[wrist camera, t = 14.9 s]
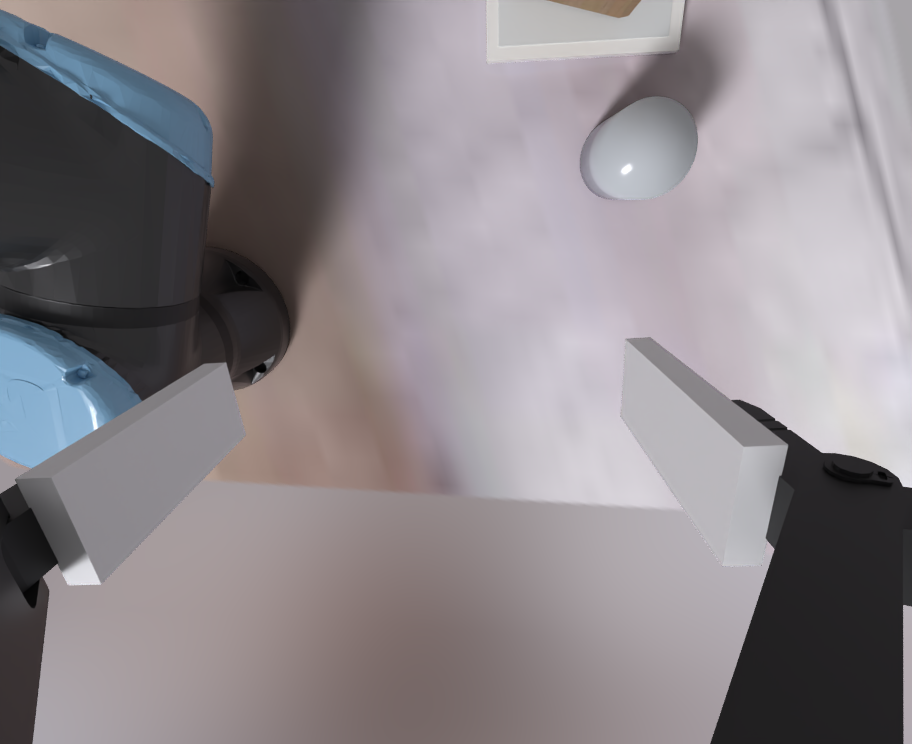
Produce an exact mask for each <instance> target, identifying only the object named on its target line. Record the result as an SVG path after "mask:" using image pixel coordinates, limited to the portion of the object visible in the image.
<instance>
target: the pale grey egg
mask: <svg viewBox="0 0 912 744" xmlns="http://www.w3.org/2000/svg"><path fill="white" fill-rule="evenodd" d="M697 144H698V135H697V129H696V125H695V122H694V120H693V118H692V116H691V114H690V113H689V111H688V110H687V109H686V108H685V107H684V106H683V105H682V104H680V103H679V102H677V101H675V100H673V99H671V98H668V97H662V96H653V97H647V98H643V99H641V100H638V101H636V102H634V103H632V104H631V105H629V106H627V107H626V108H624V109H623V110H621V111H620V112H618V113H616V114H615V115H613V116H612V117H610V118H609V119H607V120H605V121H604V122H602V123H601V124H599V125H598V126H597V127H596V128H595V129H594V130H593V131H592V132H591V133H590V135H589V136H588V138H587V139H586V141H585V143H584V145H583V148H582V151H581V155H580V171H581V175H582V178H583V180H584V182H585V184H586V186H587V187H588V188H589V189H590V190H591V191H592V192H593V193H594V194H596V195H597V196H599V197H601V198H604V199H609V200H645V199H652V198H656V197H659V196H661V195H664V194H665V193H667V192H669V191H670V190H672V189H673V188H675V187H676V186H677V185H678V184H679V183H680V182H681V181H682V180H683V179H684V177H685V176H686V175H687V173H688V171H689V170H690V168H691V166H692V164H693V162H694V159H695V156H696V151H697Z"/></svg>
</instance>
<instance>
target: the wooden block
mask: <svg viewBox="0 0 912 744" xmlns="http://www.w3.org/2000/svg"><path fill="white" fill-rule="evenodd" d="M548 1H552V2H556V3H560V4H564V5H568V6H572V7H576V8H580V9H584V10H588V11H592V12H596V13H600V14H604V15H608V16H612V17H616V18H622V17H626V16H629V15H630V14H631V12H632V11H633V10H634V9H635V7H636V6H637V5H638V4H639V2H640V1H641V0H548Z"/></svg>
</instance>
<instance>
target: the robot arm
mask: <svg viewBox="0 0 912 744" xmlns="http://www.w3.org/2000/svg"><path fill="white" fill-rule="evenodd" d="M212 143H213V133H212V128H211V125H210V122H209V120H208V118H207V117H206V115H205V114H204V113H203V111H202V110H201V109H200V108H199V107H198V106H197V105H196V104H195V103H193V102H192V101H191V100H189V99H188V98H186V97H185V96H183V95H181V94H180V93H178V92H176V91H174V90H173V89H171V88H169V87H167V86H165V85H163V84H161V83H159V82H157V81H156V80H154V79H152V78H150V77H148V76H146V75H144V74H142V73H140V72H138V71H136V70H134V69H132V68H130V67H128V66H126V65H124V64H122V63H119V62H117V61H115V60H113V59H111V58H109V57H107V56H105V55H103V54H100V53H98V52H96V51H94V50H92V49H90V48H88V47H85V46H83V45H81V44H79V43H77V42H74V41H72V40H70V39H67V38H65V37H63V36H61V35H58V34H54V33H50V32H48V31H47V30H45V29H44V28H41V27H39V26H36V25H34V24H31V23H29V22H27V21H25V20H23V19H21V18H19V17H17V16H15V15H13V14H10V13H8V12H6V11H3V10H1V9H0V455H2V456H4V457H6V458H8V459H10V460H12V461H14V462H16V463H19V464H21V465H24V466H27V467H30V468H32V469H30V470H29V471H27V472H25V473H24V474H22V475H20V476H19V477H17V478H16V479H15V481H16V483H17V484H15V485H14V486H12V487H11V488H9V489H7V490H6V491H4V492H3V493H1V494H0V744H32V742H33V733H34V724H35V716H36V706H37V697H38V688H39V679H40V671H41V662H42V653H43V644H44V635H45V626H46V617H47V608H48V599H49V589H48V586H47V584H46V582H45V580H44V579H43V576H44V575H45V574H46V573H47V572H48V571H49V570H51V569H52V568H53V567H54V566H55V565H56V564H58V566H59V568H60V570H61V572H62V574H63V576H64V578H65V580H66V582H67V584H68V585H95V584H96V585H97V584H102V583H103V582H104V581H105V580H106V579H107V578H108V577H109V576H110V575H111V574H112V573H113V572H114V571H115V570H116V569H117V568H118V567H119V566H120V564H122V563H123V562H124V560H125V559H126V558H127V557H128V556H129V555H130V554H131V553H132V552H133V551H134V550H135V549H136V548H137V547H138V546H139V545H140V544H141V543H142V542H143V541H144V540H145V539H146V538H147V537H148V536H149V535H150V534H151V533H152V531H153V530H154V529H155V528H156V527H157V526H158V525H159V524H160V523H161V522H162V521H163V520H164V519H165V518H166V517H167V516H168V515H169V514H170V513H171V512H172V511H173V510H174V509H175V508H176V507H177V506H178V505H179V504H180V503H181V501H183V499H184V498H185V497H186V496H187V495H188V494H189V493H190V492H191V491H192V490H193V489H194V488H195V487H196V486H197V485H198V484H199V483H200V482H201V481H202V480H203V479H204V478H205V477H206V476H207V475H208V474H209V473H210V472H211V471H212V470H213V468H214V467H215V466H216V465H217V464H218V463H219V462H220V461H221V460H222V459H223V458H224V457H225V456H226V455H227V454H228V453H229V452H230V451H231V450H232V449H233V448H234V447H235V446H236V445H237V444H238V443H239V442H240V441H241V440H242V439H243V437H244V436H245V435H246V433H245V430H244V426H243V422H242V419H241V415H240V411H239V408H238V404H237V400H236V397H235V393H234V390H238V389H242V388H245V387H248V386H250V385H252V384H254V383H256V382H258V381H259V380H261V379H262V378H264V377H265V376H266V375H267V374H268V373H270V372H271V371H272V370H273V369H274V368H275V367H276V366H277V365H278V364H279V362H280V361H281V359H282V358H283V356H284V354H285V352H286V349H287V346H288V342H289V335H290V323H289V316H288V312H287V308H286V305H285V303H284V300H283V298H282V296H281V294H280V292H279V291H278V289H277V287H276V286H275V284H274V283H273V282H272V281H271V279H270V278H269V277H268V276H267V275H266V274H265V273H264V272H263V271H262V270H261V269H260V268H259V267H258V266H256V265H255V264H254V263H252V262H251V261H249V260H248V259H246V258H244V257H242V256H240V255H238V254H236V253H234V252H231V251H228V250H224V249H220V248H213V247H205V246H206V236H207V225H208V215H209V205H210V194H211V187H214V179H213V177H212V176H211V169H212ZM620 417H621V418H622V420H623V421H624V423H625V424H626V426H627V427H628V429H629V430H630V432H631V433H632V434H633V436H634V437H635V439H636V440H637V442H638V443H639V445H640V446H641V448H642V449H643V451H644V452H645V454H646V455H647V457H648V458H649V460H650V461H651V462H652V464H653V465H654V467H655V468H656V470H657V471H658V473H659V474H660V476H661V477H662V479H663V480H664V482H665V483H666V485H667V486H668V488H669V489H670V490H671V492H672V493H673V495H674V496H675V498H676V499H677V501H678V502H679V504H680V505H681V507H682V508H683V510H684V511H685V513H686V514H687V515H688V517H689V518H690V520H691V521H692V523H693V524H694V526H695V527H696V529H697V530H698V532H699V533H700V535H701V536H702V538H703V539H704V541H705V542H706V544H707V545H708V547H709V548H710V549H711V551H712V552H713V554H714V555H715V557H716V558H717V560H718V561H719V563H720V564H721V566H722V567H730V566H762V563H763V558H764V554H765V549H766V544H767V541H768V542H769V543H770V544H771V545H772V546H773V548H774V549H775V550H774V553H773V556H772V559H771V562H770V565H769V568H768V571H767V574H766V577H765V580H764V583H763V586H762V590H761V592H760V595H759V599H758V601H757V605H756V608H755V611H754V614H753V617H752V620H751V623H750V626H749V629H748V632H747V635H746V638H745V641H744V644H743V647H742V650H741V653H740V656H739V659H738V662H737V665H736V668H735V671H734V674H733V677H732V680H731V683H730V686H729V690H728V692H727V695H726V698H725V702H724V704H723V707H722V710H721V713H720V716H719V719H718V722H717V726H716V728H715V731H714V734H713V737H712V741H711V743H710V744H903V605H907V606H912V488H908V487H903V486H902V484H901V482H900V480H899V478H898V477H897V476H895V475H894V474H893V473H891V472H890V471H889V470H887V469H885V468H883V467H881V466H879V465H877V464H875V463H873V462H870V461H867V460H863V459H860V458H857V457H854V456H848V455H842V454H836V453H821V452H820V451H819V450H817V449H816V448H814V447H813V446H812V445H810V444H809V443H808V442H806V441H805V440H803V439H802V438H801V437H799V436H798V435H797V434H795V433H794V432H792V431H791V430H787V427H786V426H784V425H783V424H781V423H780V422H779V421H775V418H773V417H772V416H770V415H769V414H768V413H766V412H765V411H764V410H762V409H761V408H758V407H756V406H754V405H751V404H749V403H746V402H744V401H741V400H730V399H729V398H727V397H726V396H725V395H724V394H722V393H721V392H720V391H718V390H717V389H716V388H715V387H713V386H712V385H711V384H709V383H708V382H707V381H706V380H704V379H703V378H702V377H700V376H699V375H698V374H697V373H695V372H694V371H693V370H691V369H690V368H689V367H688V366H686V365H685V364H684V363H682V362H681V361H680V360H679V359H677V358H676V357H675V356H673V355H672V354H671V353H670V352H668V351H667V350H666V349H664V348H663V347H662V346H661V345H659V344H658V343H657V342H655V341H654V340H653V339H652V338H650V337H648V338H631V339H625V354H624V369H623V385H622V400H621V416H620Z"/></svg>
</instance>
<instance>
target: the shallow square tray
mask: <svg viewBox="0 0 912 744" xmlns="http://www.w3.org/2000/svg"><path fill="white" fill-rule="evenodd" d="M684 3H685V0H641V1H640V2H639V4H638V5H637V6H636V7H635V9H634V10H633V11H632V12H631V14H630V15H629V16H626V17H622V18H616V17H612V16H608V15H604V14H600V13H596V12H592V11H588V10H584V9H580V8H576V7H572V6H568V5H564V4H560V3H556V2H552V1H548V0H486V45H487V64H498V63H516V62H533V61H550V60H567V59H584V58H602V57H619V56H636V55H653V54H670V53H676V52H677V51H679V46H680V37H681V29H682V20H683V12H684Z"/></svg>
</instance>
